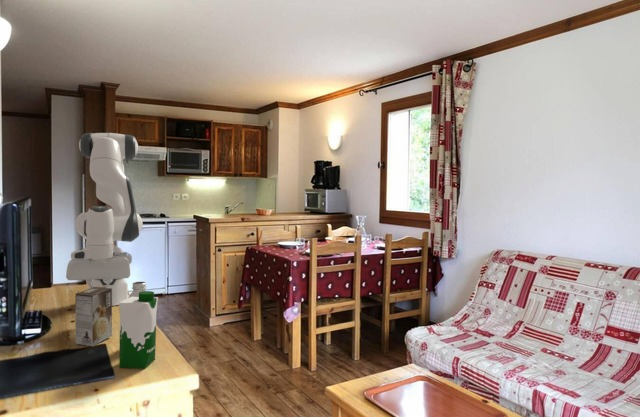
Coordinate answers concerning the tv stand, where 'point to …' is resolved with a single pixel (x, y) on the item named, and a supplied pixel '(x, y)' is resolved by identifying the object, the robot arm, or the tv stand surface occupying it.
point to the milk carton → (138, 330)
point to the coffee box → (93, 315)
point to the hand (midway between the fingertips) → (99, 291)
